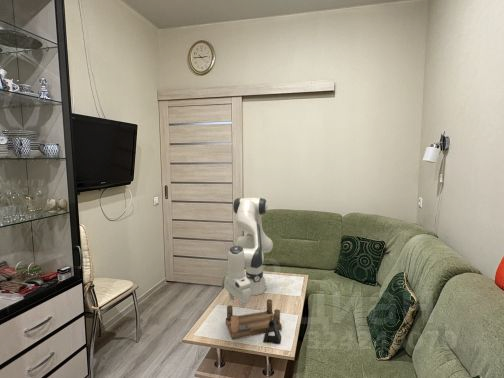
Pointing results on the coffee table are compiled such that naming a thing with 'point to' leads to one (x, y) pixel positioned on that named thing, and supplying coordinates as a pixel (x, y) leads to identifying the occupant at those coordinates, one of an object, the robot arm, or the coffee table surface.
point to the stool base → (254, 321)
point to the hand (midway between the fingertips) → (236, 303)
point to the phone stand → (277, 337)
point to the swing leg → (237, 324)
